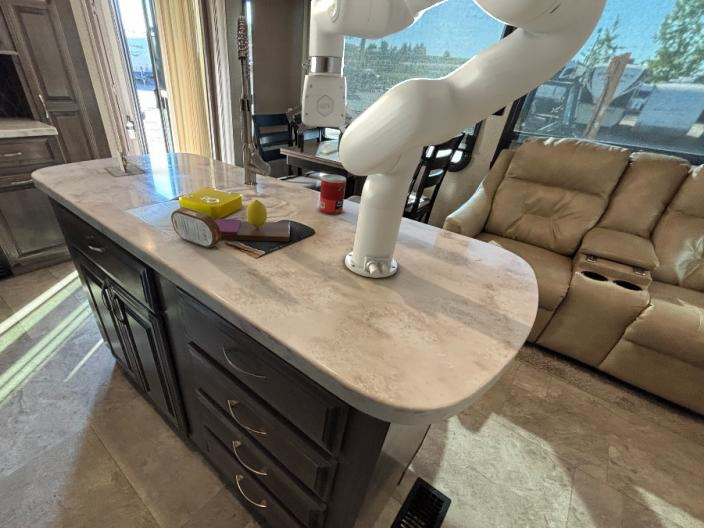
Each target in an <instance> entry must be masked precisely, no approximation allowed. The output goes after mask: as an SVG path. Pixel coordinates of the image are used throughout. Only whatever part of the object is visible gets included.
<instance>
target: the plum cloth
mask: <svg viewBox="0 0 704 528" xmlns="http://www.w3.org/2000/svg"><path fill="white" fill-rule="evenodd" d="M241 221H242V219H232V218H231V219H230V218H221V219H216V222H217V224H218V226H219V228H220V231H221V233H222V234H237V232H238V229H239V226H240V223H241Z"/></svg>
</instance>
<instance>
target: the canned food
mask: <svg viewBox="0 0 704 528" xmlns="http://www.w3.org/2000/svg"><path fill="white" fill-rule="evenodd" d="M346 185H347V178H346V177H345V176H343V175H339V174H332V173H331V174H329V173H328V174H324V175H321V181H320V194H319V205H318V208H319V211H320V212H321V213H323V214H324V215H325V214H326V215H332V216H333V215H334V216H335V215H339V214H341V213H342V212H343V210H344V209H343V208H344V200H345V192H346Z"/></svg>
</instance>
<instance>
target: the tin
mask: <svg viewBox="0 0 704 528" xmlns="http://www.w3.org/2000/svg"><path fill="white" fill-rule="evenodd" d="M170 219H171V225H172V227H173V230H174V232H175V233H176V235H178V236H179V237H180V238H181V239H182V240H184V241H187V242H188V243H189V242H190V243H192V244H194V245H197V246H201V247H203V248H208V249H209V248H212V247H214V246H216V245H218V244H220V242H221V240H222V239H221V231H220V228H219V226H218V224H217V222H216V221H215V220H214V219H213V218H212V217H211V216H209V215H208V214H205V213H202V212H199V211H195V210H192V209H189V208H186V207H179V208H177V209H176V210H174V211H172V212H171V216H170Z"/></svg>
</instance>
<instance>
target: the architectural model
mask: <svg viewBox="0 0 704 528" xmlns="http://www.w3.org/2000/svg"><path fill="white" fill-rule="evenodd" d="M116 156H117V159H118V163H119V166H115V167H106V169H107V170H108V171H109V172H110V173H111V174H112V175H113V176H114V177H122V176H131V175H140V174H145V172H144V171H142V170H141V169H140V168H138V167H137V166H136V165H133V162H132V161H130V160H129V159H127V158H125V157H124V151H118V150H116Z"/></svg>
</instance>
